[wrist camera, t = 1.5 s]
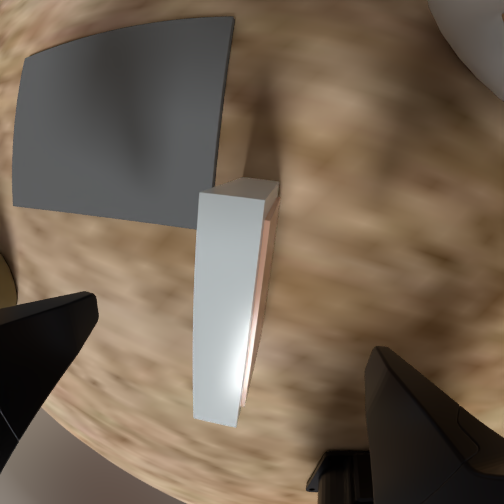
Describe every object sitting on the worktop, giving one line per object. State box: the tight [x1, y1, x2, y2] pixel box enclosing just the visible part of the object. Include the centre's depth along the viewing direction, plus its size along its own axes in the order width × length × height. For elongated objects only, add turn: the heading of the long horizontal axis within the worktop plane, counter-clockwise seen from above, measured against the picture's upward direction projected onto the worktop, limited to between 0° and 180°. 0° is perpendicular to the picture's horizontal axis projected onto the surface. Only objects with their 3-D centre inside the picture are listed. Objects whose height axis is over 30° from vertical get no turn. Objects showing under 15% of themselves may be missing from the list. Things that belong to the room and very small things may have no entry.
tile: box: [193, 177, 281, 427], centre depth 11 cm, size 8×2×6 cm, turn 174°
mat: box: [12, 16, 235, 230], centre depth 13 cm, size 10×14×1 cm
